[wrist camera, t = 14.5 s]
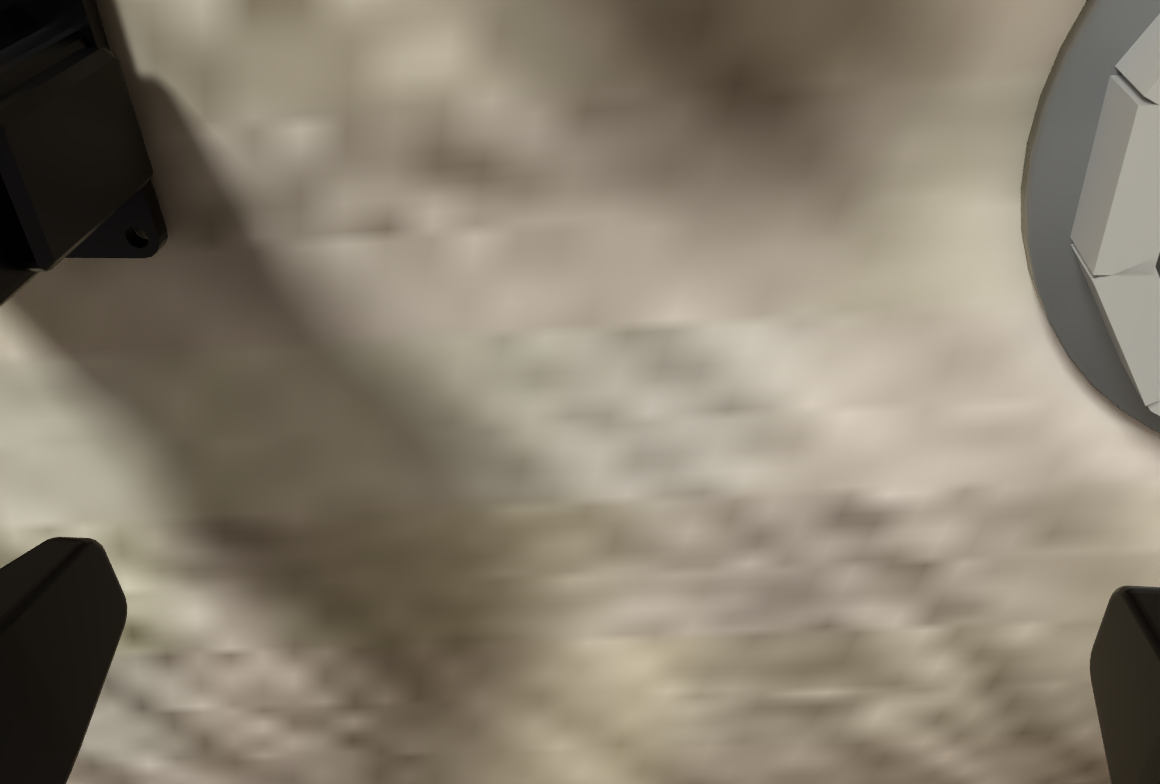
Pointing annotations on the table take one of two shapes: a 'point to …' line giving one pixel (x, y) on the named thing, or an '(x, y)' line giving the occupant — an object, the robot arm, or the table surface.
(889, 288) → the table surface
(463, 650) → the table surface
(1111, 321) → the grey shallow dish
